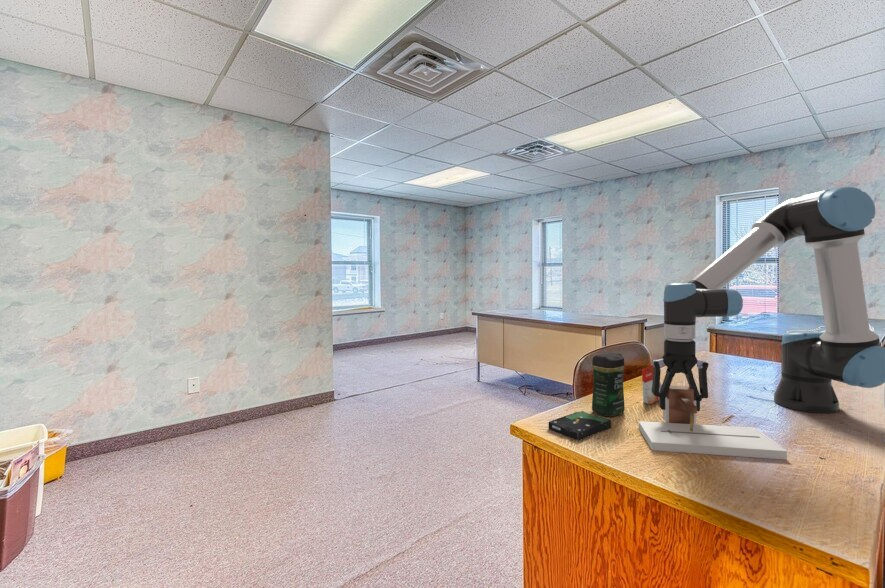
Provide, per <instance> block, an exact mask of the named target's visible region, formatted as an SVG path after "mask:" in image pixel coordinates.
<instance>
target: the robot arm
mask: <svg viewBox="0 0 885 588" xmlns="http://www.w3.org/2000/svg"><path fill="white" fill-rule="evenodd" d="M875 216H876V205H875V202H874V200H873V199H872V197H871V196H870V195H869V193H867V192H865V191H863V190H862V189H861V188H857V187H854V186H844V187H834V188H828V189H826V190H825V189H824V190H822V191H817V192H812V193H808V194H802V195H801V194H800V195H797V196H794V197H791V198H789V199H787V200H784V201H783V202H782V203H780V204H778V205H777V206H775V207H774V208H773V209H771V210H770V211H769V212H767V213H766V214H765V215H763V216H762V217H760V219H758V220H757V221H756V222H754V223H753V224H752V225H751V230H750V231H749V232H747V234H745V235H744V236H743V237H741V238H740V239H739V240H738V241H736V243H735V244H733V245H731V247H729V248H728V249H727V250H726V251H725V252H723V253H722V254H721V255H720V256H718V257H717V258H715V260H714V261H712V262H711V263H710V264H709V265H708V266H706V267H705V268H703V270H702V271H700V272H699V273H697V275H695V276H694V277H693V278H691V280H689V281H688V282H685V283H684V282H680V283H678V282H674V283H668V284H666V285H665V286H664V290H663V300H662V301H663V337H664V338H665V339H664V340H663V354H662V355H663V356H662V357H661V358H660V359H652V360H651V364H652V365H653V367H654V369H653V383H652V393H653V394H654V395H655V396H658V397H659V400H658V403H659V404H658V405H659V408H660V410H662V419H663V421H664V423H669V399H668V398H667V397H666V396H667V393H668V390H669V388H670V385H672V382H673V379H674V377H675V375H676V374H680V373H681V374H684V375H685V378H686V381H687V384H688V386H689V387H690V388H692V389H694V405H695V406H696V407H697V412H700V411H701V401H702V400H703V399H707V398H708V397H709V389H708V388H709V387H708V374H707V370H708V368H709V363H708V362H707V361H705V360H700V359H698V358H697V356H696V354H697V353H696V351H697V350H696V345H697V344H696V341H695V339H696V325H697V323H696V320H697V318H709V317H710V318H715V317H716V318H719V317H721V318H722V317H723V318H727V317H735V316H737V315H739V314H740V313H741V311H742V310H743V307H744V306H743V305H744V303H743V302H744V299H743V297H742V295H741V293H740V292H739V291H738V290H737V289H732V288H731V289H730V288H728V289H727V288H724V287H726V286H727V285H728V284H729V283H730V282H732V281H733V280H734V279H736V278H737V277H738V276H739V275H740V274H742V273H743V272H744V271H746V270H747V269H748V268H749V267H750V266H752V265H753V264H754V263H755V262H758V260H759V259H760V258H761V257H763V256H764V255H765V254H767V252H769V251H770V250H772V249H773V247H774V248H776V247H777V248H778V247H781V246H782V245H784V244H785V243H786V242H788V241H789V240H791V239H794V238H798V237H801V236H804V242H805V244H806V245H808V246H809V247H811V248H813V253H814V254H813V255H814V261H815V264H816V265H815V268H816V273H817V281H818V286H819V287H818V288H819V294H820V301H821V308H822V313H823V320H824V321H823V322H824V328H825V329H824V330H825V331H803V332H800V331H799V332H798V331H797V332H795V331H793V332H786V333H784V334H783V335H782V338H781V344H780V346H781V347H780V351H781V353H780V354H781V355H780V357H781V358H780V360H781V361H780V362H781V366H780V368H781V369H780V370H781V373H780V375H781V377H780V380H779V382H778V384H777V387H776V388H775V391H774V393H773V401H774V402H775V404H777V405H779V406H782V407H786V408H788V409H793V410H796V411H802V412H809V413H817V414H818V413H819V414H831V413H838V411H840V402H839V399H838V397H837V394H836V392H835V390H834V387H833V384H832V381H836V382H839V383H843V384H847V385H848V386H850V387H851V386H852V387H859V388H865V389H873V388H877V387H879V386H882V385H883V384H885V346H882V345H881V342H880V336H879V334H877V333H876V332H874V331H873V330H871V329H870V322H869V315H868V309H867V308H868V307H867V301H866V294H865V288H864V287H865V286H864V279H863V274H862V273H863V272H862V265H861V258H860V252H859V244H858V243H859V241H860V240H861V239H862V238H863V237H865V229H866V228H867V227H868V226H869V225H870V224H872V222H873V220H872V219H874V218H875ZM663 364H664V365H665V366H666V371H665V375H664V378H663V380H662V382H661V372H662V371H661V368H662V367H663ZM695 366H696V367H697V370H698V371H697V372H698V373H697V374H698V386H699V387H697V383H696V381H695V378H694V373H693V371H692V369H693V368H694V367H695ZM660 382H661V385H662V386H661V389H660V392H659V386H660ZM698 388H699V389H698ZM694 424H697V413H694Z"/></svg>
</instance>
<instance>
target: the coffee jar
mask: <svg viewBox="0 0 885 588" xmlns="http://www.w3.org/2000/svg"><path fill="white" fill-rule="evenodd" d="M591 364H592V366H591V368H592V372H593V383H592V384H593V385H592V398H591V399H592V401H591V402H592V403H591V411H592V412H594V413H595V414H596V415H598V416H601V417H602V416H606V417H614V416H618V415H621V414H623V413H625V411H626V410H625V406H626V405H625V393H624V371H625V357H624V356H623V354H622V353H618V352H617V353H616V352H612V351H610V352H606V353H602V354H601V353H600V354H595V355H593V357H592V363H591Z"/></svg>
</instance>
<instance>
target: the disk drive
mask: <svg viewBox="0 0 885 588" xmlns="http://www.w3.org/2000/svg"><path fill="white" fill-rule="evenodd" d="M611 428H612V420H611V419H610V418H606V417H602V416H600V415H598V414H592V413H588V412H585V411H584V410H582V411H576V412H573V413H570V414H568V415H564V416H562V417H558V418H555V419H552V420H549V421H548V430H550V431H552V432H556V433H558V434H559V435H563V436H565V437H568V438H570V439H572V438H573V440H575V441H577V440H578V441H582V440H584V439H587V438H588V436H589V437H591V436H594V435H596V434H599V433H601V432H604V431H606V430H608V429H611ZM598 432H599V433H598ZM593 434H594V435H593ZM581 439H582V440H581ZM578 441H577V442H578Z"/></svg>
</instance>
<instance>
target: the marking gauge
mask: <svg viewBox="0 0 885 588" xmlns="http://www.w3.org/2000/svg"><path fill="white" fill-rule="evenodd" d="M666 397H667V398H668V399H669V423H680V424H690V431H693V424H694V413H696V414H698V411H697V407H696V406H695V405H694V389H692V388H690V387H689V385H672V384H671V385H670V388H669V390H668V393H667V396H666Z"/></svg>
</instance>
